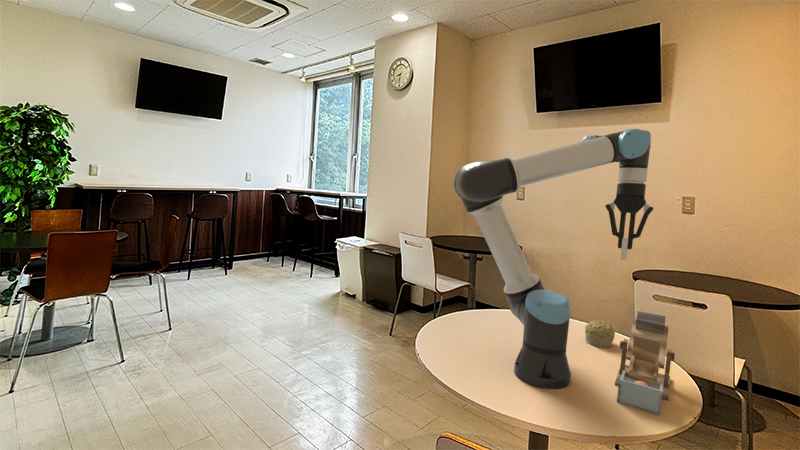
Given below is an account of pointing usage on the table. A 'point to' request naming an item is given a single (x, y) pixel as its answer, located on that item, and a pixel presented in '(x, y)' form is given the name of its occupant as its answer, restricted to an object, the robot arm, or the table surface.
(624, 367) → the catapult stand
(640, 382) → the ball
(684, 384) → the table surface
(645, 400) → the blue open box
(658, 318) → the lever
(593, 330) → the decorative item
